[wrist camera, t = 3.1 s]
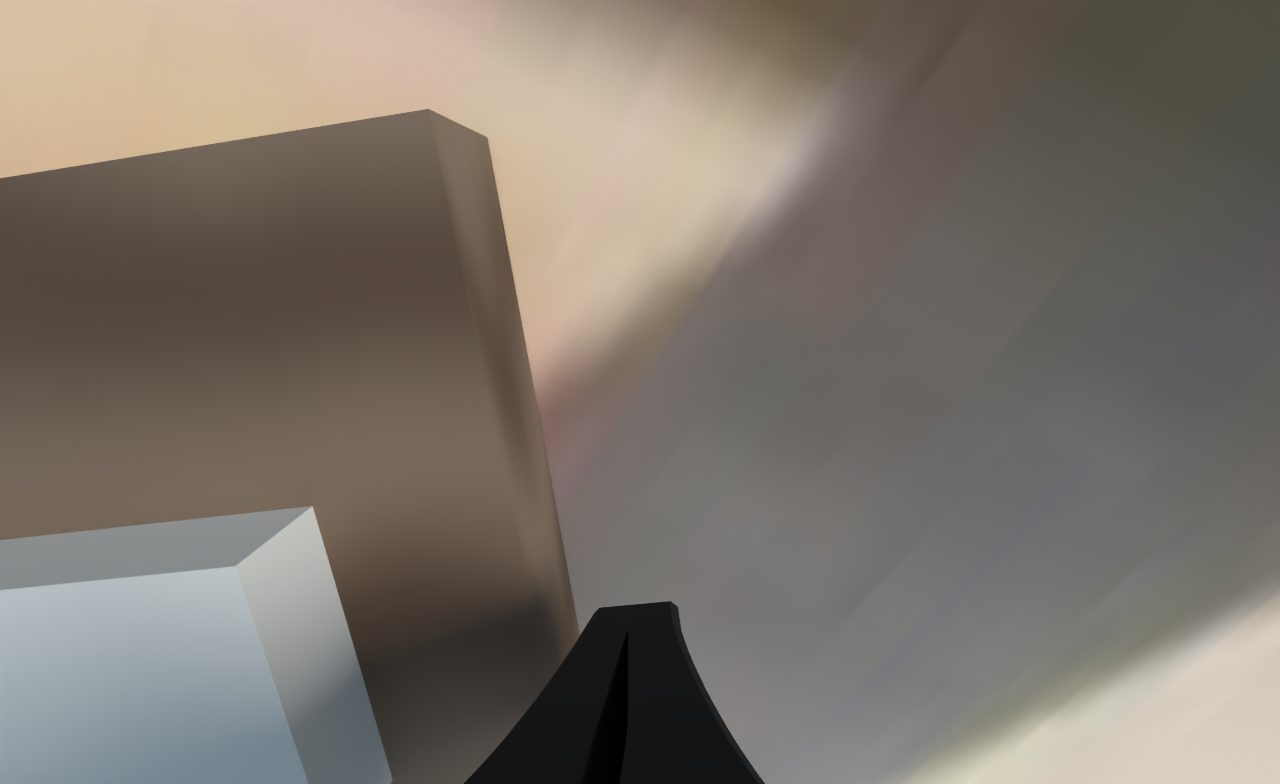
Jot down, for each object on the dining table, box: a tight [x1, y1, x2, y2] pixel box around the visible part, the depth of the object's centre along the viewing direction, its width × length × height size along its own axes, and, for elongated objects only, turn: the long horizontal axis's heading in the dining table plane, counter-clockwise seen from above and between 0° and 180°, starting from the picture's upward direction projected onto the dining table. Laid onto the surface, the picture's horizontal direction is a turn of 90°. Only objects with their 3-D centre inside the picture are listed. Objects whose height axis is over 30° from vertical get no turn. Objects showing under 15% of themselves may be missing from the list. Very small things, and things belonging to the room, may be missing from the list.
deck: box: [0, 109, 580, 784], centre depth 13 cm, size 18×14×3 cm
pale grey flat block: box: [0, 506, 393, 784], centre depth 11 cm, size 9×6×2 cm, turn 98°
